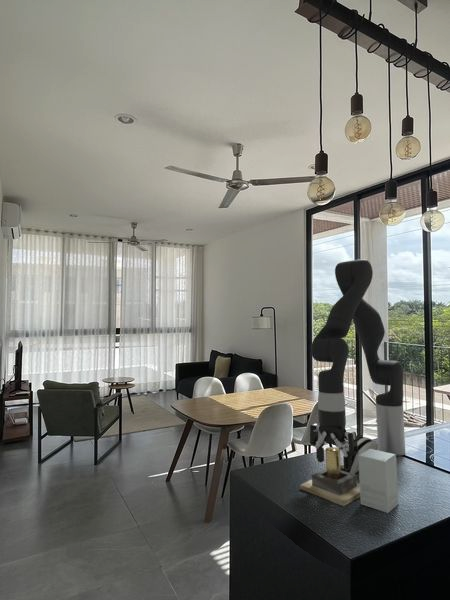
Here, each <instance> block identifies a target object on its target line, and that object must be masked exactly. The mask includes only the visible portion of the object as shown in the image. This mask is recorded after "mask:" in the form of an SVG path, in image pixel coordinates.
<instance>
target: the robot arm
mask: <svg viewBox="0 0 450 600" xmlns="http://www.w3.org/2000/svg"><path fill="white" fill-rule="evenodd" d="M373 273H374V271H373V267H372V264H371V262H370V261H369V260H367V259H363V258H362V259H361V258H360V259H354V260H347V261H341V262H339V263H337V264H336V266H335V269H334V276H335V279H336V284H337V285H338V288H339V289H340V292H341V295H342V296H341V297H340V298H339V299H338V300H337V301H336V303H335V304H333V306H332V307H331V308H330V311H329V314H328V317H327V319H326V322H325V324H324V326H323V327H322V328H321V329H320V331H319V332H318V333H317V335H315V337H314V339H313V340H312V343H311V347H310V353H311V357H312V358H313V360H315V361H316V362H320V363H321V362H322V363H332V366H330V367H331V368H330V369H325V370H321V371H319V372H318V374H317V378H318V379H317V381H318V383H317V384H318V393H317V394H318V396H317V406H318V407H317V409H318V410H317V411H318V423H319V424H318V423H316V422H315V423H312V424H310V426H309V427H310V428H309V444H310V445H311V446H313V447H314V448H315V449H316V452H315V453H316V454H315V455H316V459H317V462H318V463H323V462H325V448H324V446H325V445H326V444H328V445H329V444H331V445H334V446H337V448H338V449H340V452H342V454H343V463H344V469H343V471H349V470H350V468H351V467H352V456H354V455H356V454H358V445H357V442H358V438H357V437H358V436H357V432H356V431H351V432H350V431H347V430H346V425H347V424H346V423H347V419H346V398H345V394H344V393H345V392H344V391H345V390H344V389H345V387H344V377H345V376H344V375H345V369H346V365H347V361H348V358H349V354H350V353H349V352H350V351H349V346H348V342H346V340H344V338H346V337H347V335H348V333H349V331H350V328H351V325H352V322H353V325H354V328H355V331H356V333H357V336H358V339H359V341H360V344H361V347H362V349H363V354H364V356H365V357H364V358H365V360H366V364H367V365H366V366H367V369H368V373H369V376H370V380H371V381H372V383H374V384H375V385H379V386H381V385H382V386H389V391H387V392H384V393H380V394H377V395H375V413H376V415H375V417H376V434H377V435H376V436H377V444H378V447H377V450H378V451H382V452H387V453H392V454H396V457H397V456H404V455H405V454H406V440H405V439H406V438H405V437H406V436H405V434H406V433H405V419H404V418H405V417H404V368H403V366H402V362H400V361H398V360H389V359H388V360H387V359H386V360H385V359H380V357H379V354H378V353H379V352H378V351H379V348H380V346H381V343H382V342H383V340H384V337H385V333H386V332H385V330H386V329H385V326H384V322H383V320H382V318H381V315H380V314H379V312H378V311H377V309H376V308H374V307H373V306H372V304H370V303H369V302H367V301H366V300H365V299H364V296H365V294H366V293H367V290H368V289H369V287H370V285H371V283H372V280H373V275H374V274H373ZM319 433H320V436H319Z"/></svg>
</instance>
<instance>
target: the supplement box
mask: <svg viewBox="0 0 450 600" xmlns="http://www.w3.org/2000/svg"><path fill="white" fill-rule="evenodd" d="M358 461H359V471H358V475H359V477H358V478H359V479H358V480H359V481H358V482H359V484H360V497H359V498H360V505H363V506H365V507H369V508H372V509H375V510H378V511H380V512H383V513H385V514H386V513H387V514H389V513H390V512H391V511H392V510H393V509H394V508H395V507H397V506H399V503H400V502H399V487H398V486H399V484H398V471H397V470H398V469H397V467H398V466H397V456H396V454H392V453H387V452H382V451H378V449H377V450H373V449H368V450H367V451H365V452H363V453H361V454H360V455H358Z"/></svg>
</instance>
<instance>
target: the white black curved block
mask: <svg viewBox="0 0 450 600" xmlns="http://www.w3.org/2000/svg"><path fill="white" fill-rule="evenodd" d="M357 445H358V454H356V455H354V456H352V467H351V468H350V469H349V470H348V473H351V474H354V475H356V473H357V472H358V473H359V461H358V455H360V454H361V453H363V452H365V451H367V450H368V449H373V450H378V442H377V441H374V440H372V439H371V438H368V437H362V438H360V439H359V440H357ZM341 470H342V471H343V470H344V462H343V463H341Z"/></svg>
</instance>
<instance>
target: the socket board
mask: <svg viewBox="0 0 450 600" xmlns="http://www.w3.org/2000/svg"><path fill="white" fill-rule="evenodd" d="M357 481H358V480H357V475H356V474H351V473H350V472H349V471H346V470H343V469H342V470H341V479H339V480H334V479H331V478H328V477H327V473H326V467H325V468H323V469H321V470H318V471H317V472H314V473H312V474H311V479H309V480H307V481H305V482H302V483H301V484H300V486H299V487H300V488H299V489H300V490H302V491H304V492H307V493H308V494H309V493H310V494H312V495H314V496H317V497H320V498H322V499H325V500H327V501H330V502H331V503H334V504H337V505H340V506H342V507H346V506H347V505H349V504H350V503H352V502H354V501H355V500H357V499H359V498H360V482H359V483H358V482H357Z"/></svg>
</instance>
